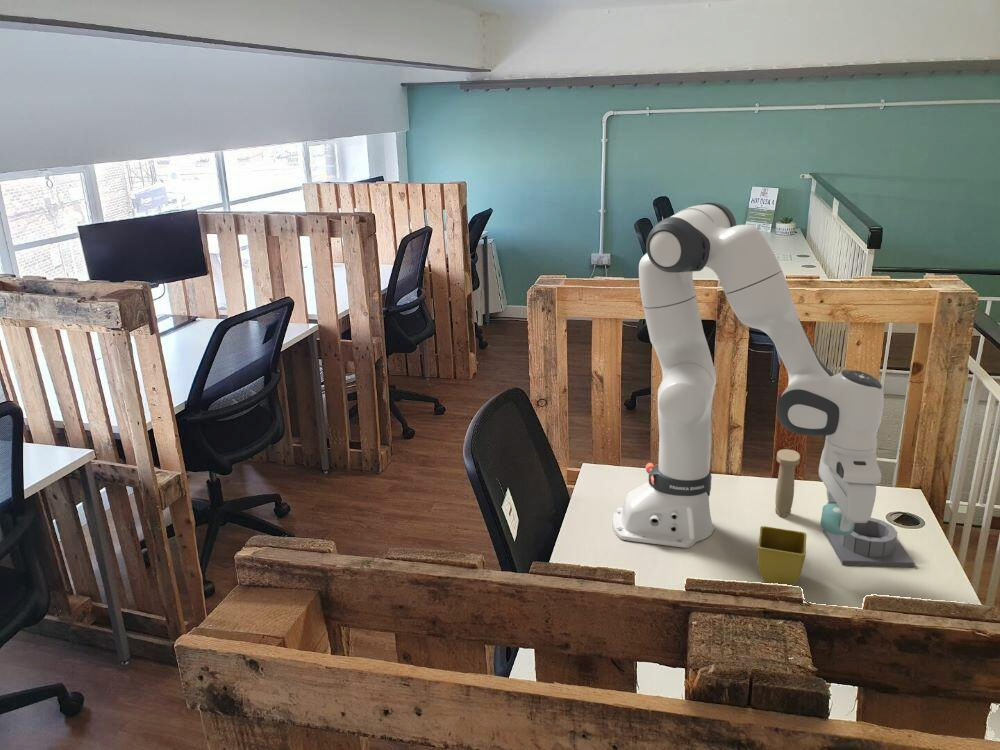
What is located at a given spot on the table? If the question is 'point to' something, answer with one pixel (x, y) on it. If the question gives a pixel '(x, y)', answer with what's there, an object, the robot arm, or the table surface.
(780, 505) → the handle
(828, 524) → the teal rounded cylinder
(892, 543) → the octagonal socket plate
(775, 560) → the flower pot
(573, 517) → the table surface
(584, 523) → the table surface
